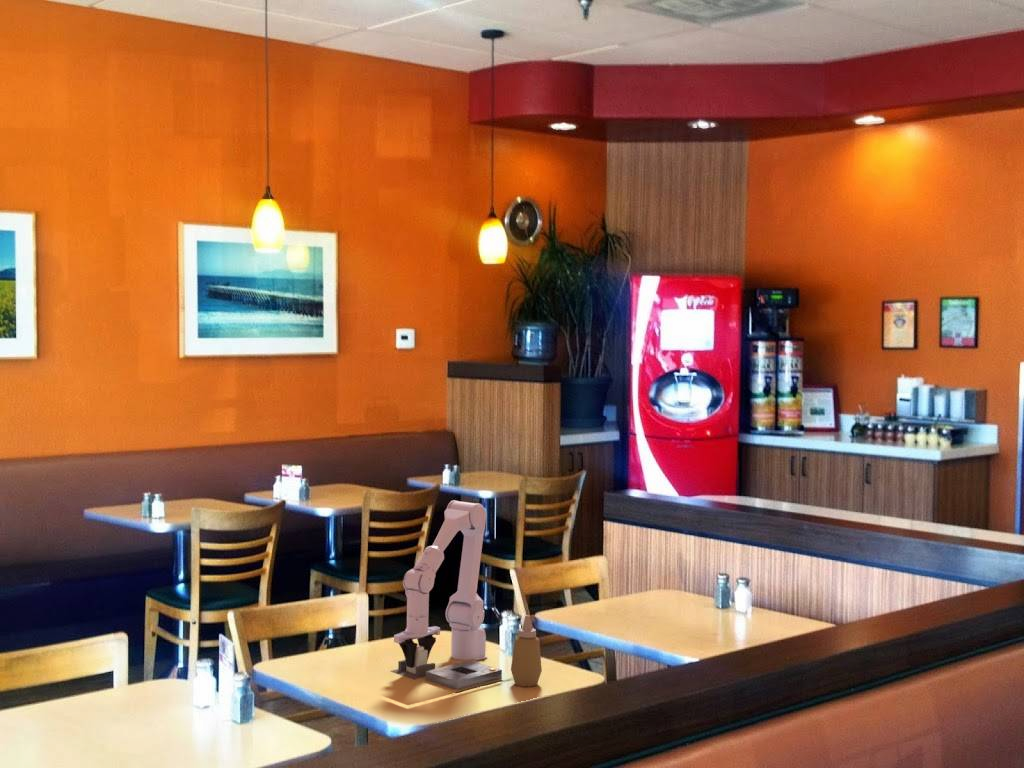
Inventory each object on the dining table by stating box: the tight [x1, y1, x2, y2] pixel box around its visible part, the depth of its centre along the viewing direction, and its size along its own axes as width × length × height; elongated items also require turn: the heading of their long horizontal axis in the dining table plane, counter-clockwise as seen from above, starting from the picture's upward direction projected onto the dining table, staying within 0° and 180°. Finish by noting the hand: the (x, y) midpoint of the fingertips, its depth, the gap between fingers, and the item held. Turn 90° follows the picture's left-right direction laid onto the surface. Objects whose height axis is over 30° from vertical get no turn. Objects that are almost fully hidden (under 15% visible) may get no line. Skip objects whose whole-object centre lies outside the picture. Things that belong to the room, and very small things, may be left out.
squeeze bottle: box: [510, 615, 543, 687], centre depth 329 cm, size 8×8×18 cm
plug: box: [406, 644, 428, 674], centre depth 336 cm, size 3×5×7 cm, turn 45°
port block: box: [425, 659, 503, 694], centre depth 330 cm, size 16×12×3 cm
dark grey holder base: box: [390, 659, 436, 680], centre depth 336 cm, size 10×10×3 cm
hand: (416, 665), depth 336 cm, fingers open, 4 cm apart
